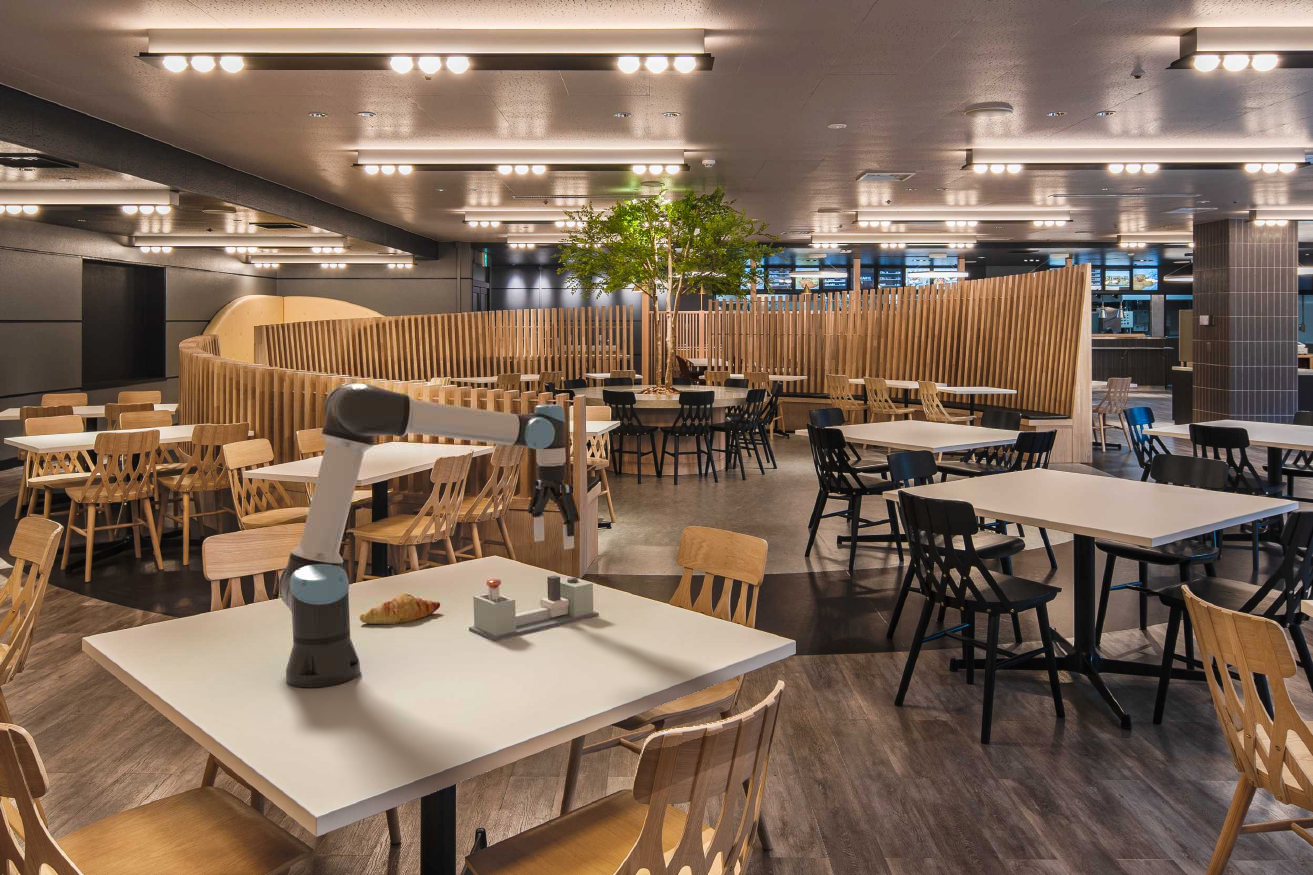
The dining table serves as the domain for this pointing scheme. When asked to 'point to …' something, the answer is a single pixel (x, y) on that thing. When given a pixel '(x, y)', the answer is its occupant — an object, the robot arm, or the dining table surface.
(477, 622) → the rail fixture
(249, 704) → the dining table surface
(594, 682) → the dining table surface
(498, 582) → the ball
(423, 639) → the dining table surface
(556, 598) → the block
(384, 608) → the croissant
